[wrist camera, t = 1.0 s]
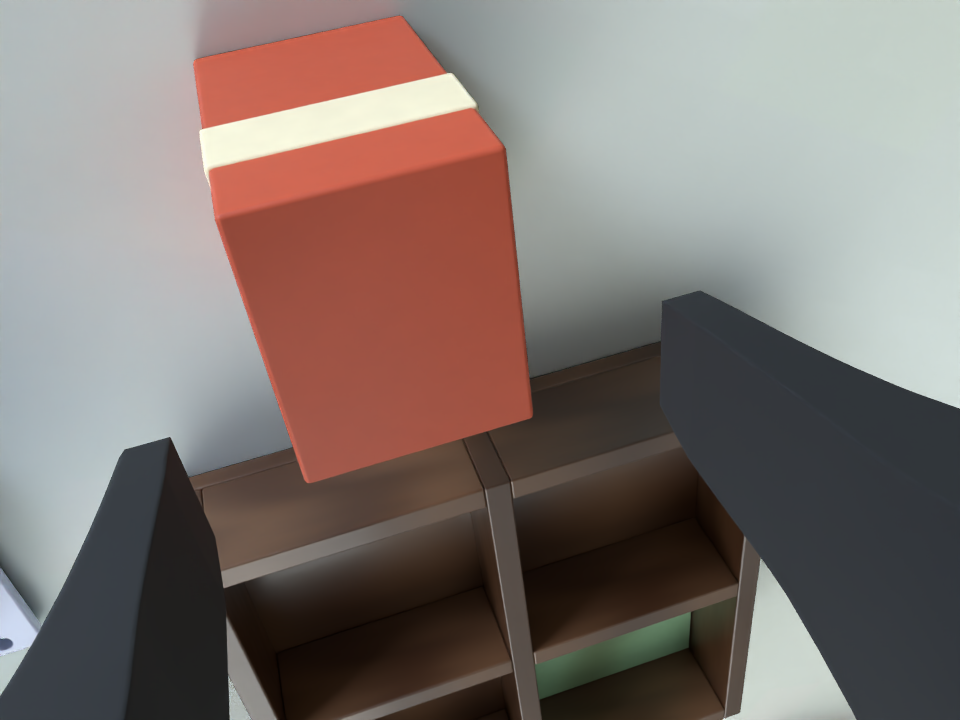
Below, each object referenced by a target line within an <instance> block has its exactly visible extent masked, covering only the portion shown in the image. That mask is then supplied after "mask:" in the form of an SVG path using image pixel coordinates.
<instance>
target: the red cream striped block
mask: <svg viewBox="0 0 960 720" xmlns="http://www.w3.org/2000/svg"><path fill="white" fill-rule="evenodd" d="M193 65H194V72H195V79H196V87H197V94H198V101H199V108H200V115H201V123H202V130H200V133H199V136H200V143H201V151H202V159H203V166H204V172H205V175H206V178H207V180H208V183H209V186H210V189H211V195H212V202H213V209H214V216H215V221H216V224H217V227H218V230H219V233H220V236H221V239H222V242H223V244H224V247H225V250H226V253H227V256H228V259H229V262H230V265H231V268H232V271H233V274H234V277H235V279H236V282H237V285H238V288H239V291H240V294H241V297H242V300H243V303H244V306H245V309H246V311H247V314H248V317H249V320H250V323H251V326H252V329H253V332H254V335H255V338H256V341H257V343H258V346H259V349H260V352H261V355H262V358H263V361H264V364H265V367H266V370H267V373H268V376H269V378H270V381H271V384H272V387H273V390H274V393H275V396H276V399H277V402H278V405H279V408H280V410H281V413H282V416H283V419H284V422H285V425H286V428H287V431H288V434H289V437H290V440H291V442H292V445H293V448H294V451H295V454H296V457H297V460H298V463H299V466H300V469H301V472H302V475H303V477H304V480H305V481H306V482H307V483H313V482H317V481H320V480H323V479H327V478H330V477H334V476H337V475H340V474H344V473H347V472H351V471H354V470H357V469H361V468H364V467H367V466H371V465H374V464H378V463H381V462H384V461H388V460H391V459H395V458H398V457H401V456H405V455H408V454H411V453H415V452H418V451H422V450H425V449H428V448H432V447H435V446H439V445H442V444H445V443H449V442H452V441H456V440H459V439H462V438H466V437H469V436H472V435H476V434H479V433H483V432H486V431H489V430H493V429H496V428H500V427H503V426H506V425H510V424H513V423H516V422H520V421H523V420H527V419H530V418H531V417H532V416H533V406H532V397H531V387H530V377H529V368H528V358H527V348H526V339H525V329H524V319H523V310H522V300H521V290H520V280H519V271H518V261H517V251H516V242H515V232H514V222H513V213H512V203H511V193H510V184H509V174H508V164H507V155H506V148H505V146H504V145H503V144H502V142H501V141H500V140H499V139H498V137H497V136H496V135H495V133H494V132H493V131H492V130H491V128H490V127H489V126H488V125H487V123H486V122H485V121H484V119H483V118H482V117H481V116H480V114H479V107H478V104H477V103H476V102H475V100H474V99H473V98H472V97H471V95H470V94H469V93H468V92H467V90H466V89H465V88H464V87H463V85H462V84H461V83H460V82H459V80H458V79H457V78H456V77H455V75H454V74H453V73H448V74H447V72H446V71H445V70H444V68H443V67H442V66H441V65H440V63H439V62H438V61H437V60H436V58H435V57H434V56H433V54H432V53H431V52H430V51H429V49H428V48H427V47H426V46H425V44H424V43H423V42H422V40H421V39H420V38H419V37H418V35H417V34H416V33H415V31H414V30H413V29H412V28H411V26H410V25H409V24H408V23H407V21H406V20H405V19H404V17H403V16H395V17H390V18H385V19H381V20H376V21H371V22H367V23H362V24H357V25H353V26H348V27H343V28H339V29H334V30H329V31H325V32H320V33H315V34H311V35H306V36H301V37H297V38H292V39H287V40H283V41H278V42H273V43H269V44H264V45H259V46H255V47H250V48H245V49H241V50H236V51H231V52H227V53H222V54H217V55H213V56H208V57H203V58H199V59H196V60H194V64H193Z"/></svg>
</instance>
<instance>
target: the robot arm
mask: <svg viewBox="0 0 960 720" xmlns="http://www.w3.org/2000/svg"><path fill="white" fill-rule="evenodd" d="M660 406H661V408H662V410H663V412H664V414H665V416H666V418H667V420H668V422H669V424H670V426H671V427H672V429H673V431H674V433H675V435H676V437H677V439H678V440H679V442H680V444H681V446H682V448H683V449H684V451H685V453H686V455H687V457H688V458H689V460H690V461H691V463H692V464H693V466H694V467H695V468H696V470H697V471H698V473H699V474H700V475H701V477H702V478H703V480H704V481H705V482H706V484H707V485H708V486H709V488H710V489H711V491H712V492H713V493H714V495H715V496H716V498H717V499H718V500H719V502H720V503H721V504H722V506H723V507H724V508H725V510H726V511H727V512H728V514H729V515H730V517H731V518H732V519H733V521H734V522H735V523H736V525H737V526H738V527H739V529H740V530H741V531H742V533H743V534H744V536H745V537H746V538H747V540H748V541H749V542H750V544H751V545H752V546H753V548H754V549H755V550H756V552H757V553H758V555H759V556H760V557H761V559H762V560H763V561H764V563H765V564H766V565H767V567H768V568H769V569H770V571H771V572H772V574H773V575H774V577H775V578H776V580H777V581H778V583H779V584H780V586H781V587H782V589H783V590H784V592H785V593H786V595H787V596H788V598H789V600H790V601H791V603H792V605H793V607H794V608H795V610H796V612H797V613H798V615H799V617H800V619H801V620H802V622H803V624H804V625H805V627H806V629H807V631H808V632H809V634H810V636H811V637H812V639H813V641H814V643H815V644H816V646H817V648H818V649H819V651H820V653H821V655H822V657H823V659H824V660H825V662H826V664H827V666H828V668H829V669H830V671H831V673H832V675H833V677H834V679H835V680H836V682H837V684H838V686H839V688H840V689H841V691H842V693H843V695H844V697H845V698H846V700H847V702H848V704H849V706H850V708H851V710H852V711H853V713H854V715H855V717H856V719H857V720H960V409H959V408H956V407H953V406H951V405H948V404H945V403H942V402H939V401H936V400H934V399H931V398H928V397H925V396H922V395H919V394H917V393H914V392H912V391H909V390H906V389H904V388H901V387H899V386H896V385H894V384H891V383H889V382H887V381H884V380H882V379H880V378H877V377H875V376H873V375H871V374H868V373H866V372H864V371H861V370H859V369H857V368H854V367H852V366H850V365H848V364H846V363H843V362H841V361H839V360H837V359H835V358H833V357H830V356H828V355H826V354H824V353H822V352H820V351H818V350H816V349H814V348H812V347H810V346H808V345H806V344H804V343H802V342H800V341H798V340H796V339H794V338H792V337H790V336H788V335H786V334H784V333H782V332H780V331H778V330H776V329H774V328H772V327H770V326H768V325H767V324H765V323H763V322H761V321H759V320H757V319H755V318H753V317H751V316H749V315H747V314H745V313H744V312H742V311H740V310H738V309H736V308H734V307H732V306H730V305H728V304H726V303H724V302H722V301H720V300H718V299H716V298H714V297H712V296H710V295H708V294H706V293H704V292H702V291H697V292H693V293H690V294H686V295H682V296H679V297H675V298H672V299H668V300H664V301H662V323H661V367H660ZM1 638H5V639H1ZM30 646H31V647H30ZM28 647H30V648H29V650H28V652H27V654H26V655H25V657H24V659H23V660H22V662H21V664H20V665H19V667H18V669H17V670H16V672H15V674H14V675H13V677H12V678H11V680H10V682H9V683H8V685H7V686H6V688H5V689H4V691H3V693H2V694H1V696H0V720H229V687H228V652H227V623H226V601H225V594H224V588H223V581H222V574H221V568H220V562H219V556H218V550H217V544H216V538H215V535H214V533H213V530H212V528H211V526H210V524H209V522H208V519H207V517H206V515H205V513H204V511H203V508H202V506H201V504H200V502H199V500H198V497H197V495H196V493H195V491H194V488H193V486H192V484H191V482H190V480H189V477H188V475H187V473H186V471H185V469H184V466H183V464H182V462H181V460H180V458H179V455H178V453H177V451H176V449H175V446H174V444H173V442H172V440H171V438H170V437H169V438H165V439H162V440H158V441H154V442H151V443H147V444H143V445H140V446H136V447H133V448H129V449H125V450H124V451H123V453H122V454H121V456H120V457H119V459H118V462H117V465H116V467H115V470H114V472H113V475H112V477H111V480H110V482H109V485H108V487H107V490H106V492H105V495H104V497H103V500H102V502H101V504H100V507H99V509H98V512H97V514H96V516H95V518H94V521H93V523H92V525H91V528H90V530H89V532H88V535H87V537H86V539H85V541H84V543H83V545H82V547H81V550H80V552H79V554H78V556H77V558H76V560H75V562H74V565H73V567H72V569H71V571H70V573H69V575H68V577H67V579H66V581H65V583H64V585H63V587H62V589H61V591H60V593H59V595H58V597H57V599H56V601H55V602H54V604H53V606H52V608H51V610H50V612H49V614H48V616H47V617H46V619H45V621H44V623H43V625H42V627H41V624H40V622H39V620H38V619H37V618H36V616H35V615H34V613H33V612H32V611H31V609H30V608H29V606H28V605H27V604H26V602H25V601H24V600H23V598H22V597H21V595H20V594H19V593H18V591H17V590H16V588H15V587H14V586H13V584H12V583H11V581H10V580H9V579H8V577H7V576H6V574H5V573H4V572H3V570H2V569H1V567H0V656H2V655H6V654H9V653H12V652H15V651H18V650H22V649H25V648H28Z"/></svg>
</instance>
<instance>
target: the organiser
mask: <svg viewBox="0 0 960 720" xmlns="http://www.w3.org/2000/svg"><path fill="white" fill-rule="evenodd" d="M660 367H661V342H658V343H654V344H651V345H647V346H644V347H640V348H637V349H634V350H630V351H627V352H623V353H620V354H616V355H613V356H609V357H606V358H602V359H599V360H595V361H592V362H588V363H585V364H581V365H578V366H574V367H571V368H568V369H564V370H561V371H557V372H554V373H550V374H547V375H543V376H540V377H536V378H533V379H530V387H531V397H532V406H533V416H532V417H531V418H530V419H527V420H523V421H520V422H516V423H513V424H510V425H506V426H503V427H500V428H496V429H493V430H489V431H486V432H483V433H479V434H476V435H472V436H469V437H466V438H462V439H459V440H456V441H452V442H449V443H445V444H442V445H439V446H435V447H432V448H428V449H425V450H422V451H418V452H415V453H411V454H408V455H405V456H401V457H398V458H395V459H391V460H388V461H384V462H381V463H378V464H374V465H371V466H367V467H364V468H361V469H357V470H354V471H351V472H347V473H344V474H340V475H337V476H334V477H330V478H327V479H323V480H320V481H317V482H313V483H307V482H306V481H305V480H304V477H303V475H302V472H301V469H300V466H299V463H298V460H297V457H296V454H295V451H294V448H290V449H286V450H283V451H279V452H276V453H272V454H269V455H265V456H262V457H258V458H255V459H251V460H248V461H245V462H241V463H238V464H234V465H231V466H227V467H224V468H220V469H217V470H213V471H210V472H206V473H203V474H199V475H196V476H192V477H189V480H190V482H191V484H192V486H193V488H194V491H195V493H196V495H197V497H198V500H199V502H200V504H201V506H202V508H203V511H204V513H205V515H206V517H207V519H208V522H209V524H210V526H211V528H212V530H213V533H214V535H215V538H216V544H217V550H218V556H219V562H220V568H221V574H222V581H223V588H224V594H225V601H226V623H227V652H228V676H229V678H230V679H231V681H232V683H233V685H234V687H235V689H236V691H237V693H238V695H239V697H240V699H241V700H242V702H243V704H244V706H245V708H246V710H247V712H248V714H249V716H250V718H251V719H252V720H722V719H723V718H727V717H730V716H732V715H735V714H738V713H740V709H741V702H742V694H743V686H744V679H745V671H746V664H747V656H748V648H749V641H750V633H751V626H752V618H753V611H754V603H755V595H756V588H757V580H758V573H759V565H760V556H759V555H758V553H757V552H756V550H755V549H754V548H753V546H752V545H751V544H750V542H749V541H748V540H747V538H746V537H745V536H744V534H743V533H742V531H741V530H740V529H739V527H738V526H737V525H736V523H735V522H734V521H733V519H732V518H731V517H730V515H729V514H728V512H727V511H726V510H725V508H724V507H723V506H722V504H721V503H720V502H719V500H718V499H717V498H716V496H715V495H714V493H713V492H712V491H711V489H710V488H709V486H708V485H707V484H706V482H705V481H704V480H703V478H702V477H701V475H700V474H699V473H698V471H697V470H696V468H695V467H694V466H693V464H692V463H691V461H690V460H689V458H688V457H687V455H686V453H685V451H684V449H683V448H682V446H681V444H680V442H679V440H678V439H677V437H676V435H675V433H674V431H673V429H672V427H671V426H670V424H669V422H668V420H667V418H666V416H665V414H664V412H663V410H662V408H661V406H660Z"/></svg>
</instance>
